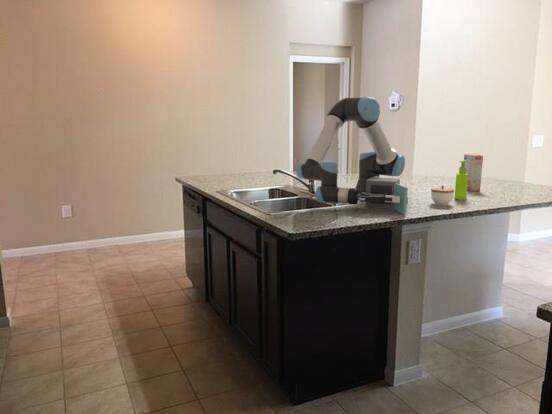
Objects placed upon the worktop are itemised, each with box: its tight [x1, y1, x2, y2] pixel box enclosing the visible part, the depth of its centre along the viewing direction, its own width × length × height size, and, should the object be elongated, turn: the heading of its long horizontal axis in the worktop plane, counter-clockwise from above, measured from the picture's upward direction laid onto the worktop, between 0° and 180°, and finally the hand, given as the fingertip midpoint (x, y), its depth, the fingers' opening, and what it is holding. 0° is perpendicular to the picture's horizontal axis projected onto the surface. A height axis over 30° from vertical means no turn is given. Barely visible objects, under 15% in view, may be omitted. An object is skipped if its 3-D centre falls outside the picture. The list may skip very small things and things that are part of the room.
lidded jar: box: [430, 185, 455, 206], centre depth 233 cm, size 11×11×9 cm
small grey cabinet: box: [365, 176, 401, 210], centre depth 228 cm, size 12×17×14 cm
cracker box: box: [463, 153, 484, 192], centre depth 278 cm, size 14×6×21 cm, turn 179°
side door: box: [392, 183, 409, 215], centre depth 214 cm, size 2×14×12 cm, turn 6°
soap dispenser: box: [454, 160, 471, 200], centre depth 248 cm, size 6×7×20 cm
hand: (400, 199), depth 211 cm, fingers closed
